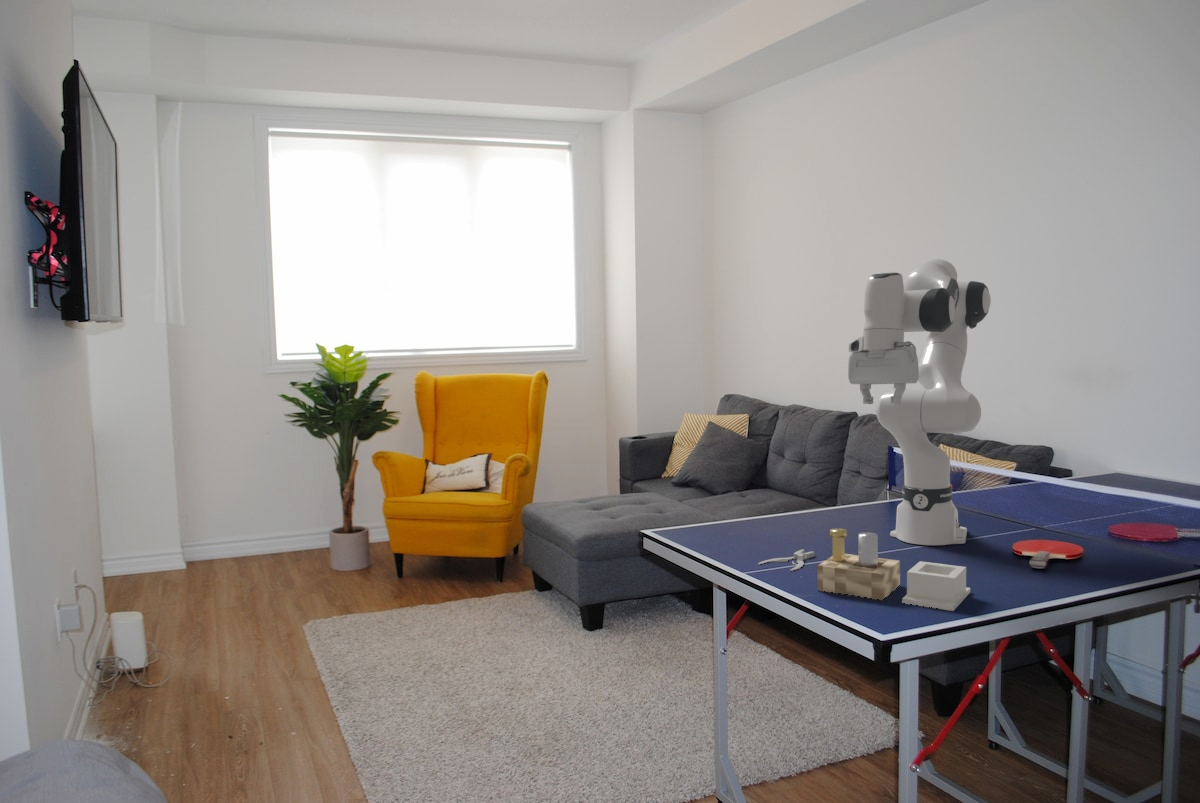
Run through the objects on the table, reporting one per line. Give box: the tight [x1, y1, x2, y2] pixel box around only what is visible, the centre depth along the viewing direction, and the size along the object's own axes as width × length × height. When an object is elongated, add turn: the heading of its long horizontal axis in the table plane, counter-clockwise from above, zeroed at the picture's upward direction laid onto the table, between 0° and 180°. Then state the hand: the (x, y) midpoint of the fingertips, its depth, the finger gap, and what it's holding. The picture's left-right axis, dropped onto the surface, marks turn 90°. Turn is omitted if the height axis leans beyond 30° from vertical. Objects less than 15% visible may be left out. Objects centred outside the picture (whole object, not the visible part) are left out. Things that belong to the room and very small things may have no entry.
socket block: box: [816, 553, 901, 601], centre depth 196 cm, size 12×14×6 cm
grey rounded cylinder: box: [857, 531, 879, 569], centre depth 194 cm, size 4×4×12 cm
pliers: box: [757, 549, 815, 572], centre depth 219 cm, size 10×2×15 cm
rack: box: [901, 560, 971, 612], centre depth 187 cm, size 14×10×6 cm
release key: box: [829, 527, 848, 562], centre depth 198 cm, size 4×4×8 cm
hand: (881, 404), depth 206 cm, fingers open, 8 cm apart
